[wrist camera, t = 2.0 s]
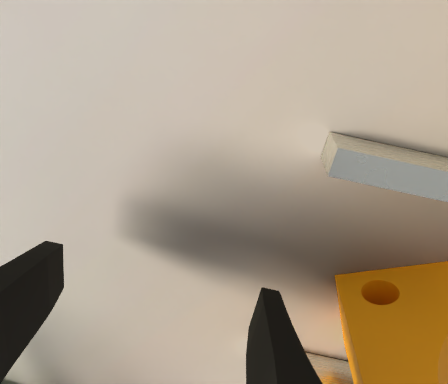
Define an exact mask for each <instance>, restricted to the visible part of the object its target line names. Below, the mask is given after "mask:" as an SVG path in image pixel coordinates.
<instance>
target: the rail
mask: <svg viewBox="0 0 448 384" xmlns="http://www.w3.org/2000/svg"><path fill="white" fill-rule="evenodd" d="M321 160H322V162H323V165H324V168H325V170H326V173H327V176H329V177H334V178H339V179H343V180H348V181H352V182H357V183H362V184H366V185H371V186H375V187H380V188H385V189H389V190H394V191H398V192H403V193H408V194H412V195H417V196H421V197H426V198H431V199H435V200H440V201H444V202H448V158H447V157H443V156H438V155H434V154H429V153H424V152H420V151H415V150H411V149H406V148H401V147H397V146H392V145H388V144H383V143H379V142H374V141H369V140H365V139H360V138H356V137H351V136H346V135H342V134H337V133H333V132H329V135H328V138H327V141H326V144H325V147H324V150H323V153H322V155H321ZM305 353H306V352H305ZM306 355H307V357H308V359H309V360H310V362H311V364H312V366H313V368H314V370H315V371H316V373H317V375H318V377H319V378H320V380H321V382H322V383H323V384H354V382H353V378H352V374H351V370H350V366H349V362H348V361H343V360H338V359H334V358H329V357H324V356H320V355H315V354H311V353H306Z"/></svg>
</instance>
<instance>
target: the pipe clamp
mask: <svg viewBox="0 0 448 384" xmlns="http://www.w3.org/2000/svg"><path fill="white" fill-rule="evenodd" d="M335 281H336V288H337V295H338V302H339V309H340V316H341V324H342V331H343V338H344V345H345V349H346V353H347V357H348V362H349V366H350V370H351V374H352V378H353V382H354V384H448V261H445V262H436V263H428V264H420V265H412V266H404V267H396V268H388V269H380V270H372V271H364V272H356V273H348V274H340V275H335Z"/></svg>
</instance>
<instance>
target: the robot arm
mask: <svg viewBox="0 0 448 384" xmlns="http://www.w3.org/2000/svg"><path fill="white" fill-rule="evenodd" d="M63 288H64V272H63V244H58V243H54V242H49V241H45V242H43V243H41V244H39V245H38V246H36V247H34V248H32V249H31V250H29V251H27V252H25V253H24V254H22V255H20V256H18V257H17V258H15V259H13V260H11V261H10V262H8V263H6V264H4V265H2V266H1V267H0V384H1V382H2V381H3V379H4V377H5V376H6V374H7V373H8V371H9V370H10V369H11V367H12V366H13V364H14V363H15V362H16V360H17V359H18V357H19V356H20V355H21V353H22V352H23V350H24V349H25V348H26V346H27V345H28V344H29V342H30V341H31V339H32V338H33V337H34V335H35V334H36V332H37V331H38V330H39V328H40V327H41V325H42V324H43V323H44V321H45V320H46V318H47V317H48V315H49V314H50V312H51V311H52V309H53V307H54V305H55V303H56V302H57V300H58V298H59V296H60V294H61V292H62V290H63ZM246 384H323V383H322V382H321V380H320V378H319V377H318V375H317V373H316V371H315V370H314V368H313V366H312V364H311V362H310V360H309V359H308V357H307V355H306V353H305V351H304V349H303V347H302V345H301V342H300V340H299V338H298V336H297V334H296V332H295V330H294V327H293V325H292V323H291V320H290V318H289V315H288V313H287V310H286V308H285V305H284V302H283V300H282V297H281V294H280V292H279V291H276V290H271V289H267V288H261V291H260V294H259V298H258V301H257V304H256V307H255V310H254V313H253V316H252V319H251V323H250V326H249V332H248V341H247V352H246Z"/></svg>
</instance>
